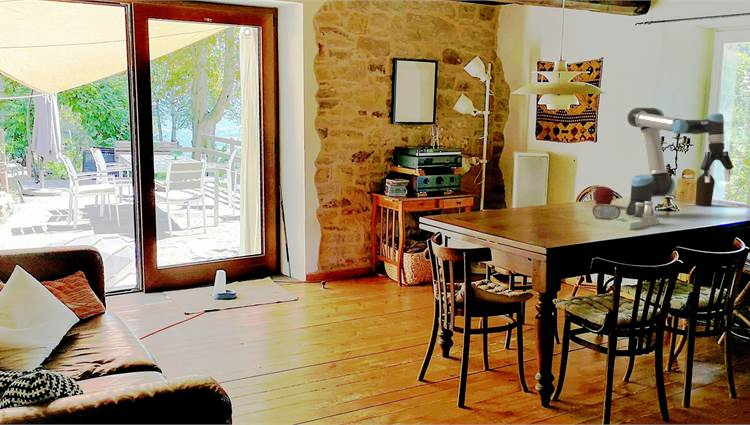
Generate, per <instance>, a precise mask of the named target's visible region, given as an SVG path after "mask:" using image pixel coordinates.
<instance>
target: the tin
mask: <svg viewBox="0 0 750 425" xmlns="http://www.w3.org/2000/svg"><path fill="white" fill-rule="evenodd" d="M592 215H593V216H594V217H595V218H596V219H601V220H611V219H617V218H620V215H621V209H620V207H619V206H618V205H616V204H610V205H609V204H595V205H594V206H593V207H592Z"/></svg>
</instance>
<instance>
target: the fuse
mask: <svg viewBox="0 0 750 425" xmlns="http://www.w3.org/2000/svg"><path fill="white" fill-rule="evenodd" d="M653 203H654V202H653V201H652V200H651V201H645V203H644V204H645V207H644V215H645V216H651V212H652V208H653Z"/></svg>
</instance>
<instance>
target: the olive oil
mask: <svg viewBox="0 0 750 425" xmlns="http://www.w3.org/2000/svg"><path fill="white" fill-rule="evenodd" d="M708 170H710V171H711V167H710V168H709V169H708ZM715 184H716V182H715V178H714V176H712V174H710V182H705V176H704V172H703V173H702V174H700V176H699V177H698V178H697V179H696V188H695V190H696V191H695V206H698V207H711V206H712V202H713V196H714V188H715Z"/></svg>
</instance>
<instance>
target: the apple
mask: <svg viewBox="0 0 750 425" xmlns="http://www.w3.org/2000/svg"><path fill="white" fill-rule="evenodd" d="M614 194H615V193H614V191H613V189H612V188H610V187H605V186H603V187H602V186H600V187H596V189H595V190H594V192H593V195H594V201H595V205H597V204H609V205H612V202H613V199H614Z"/></svg>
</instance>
